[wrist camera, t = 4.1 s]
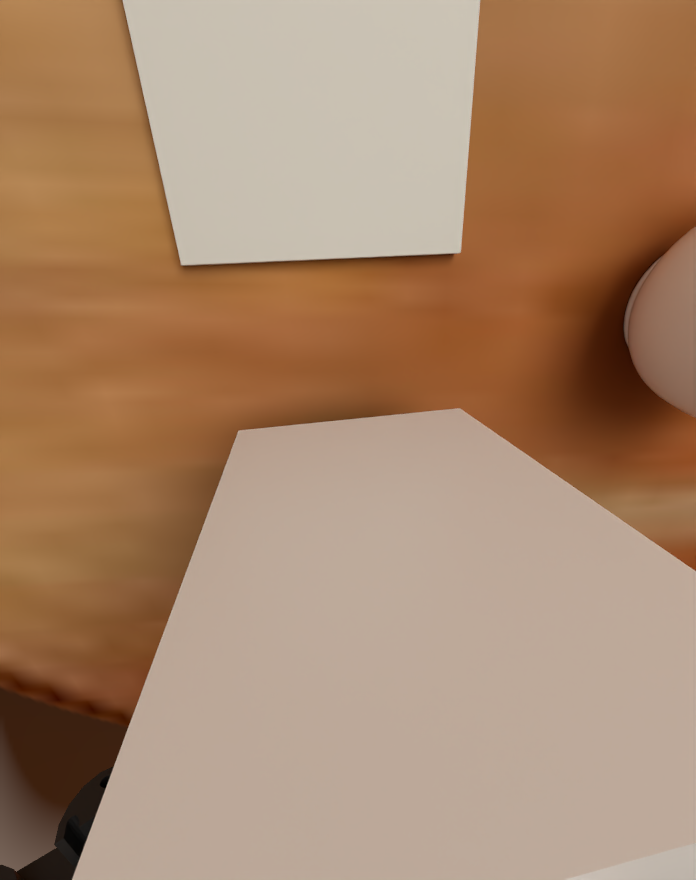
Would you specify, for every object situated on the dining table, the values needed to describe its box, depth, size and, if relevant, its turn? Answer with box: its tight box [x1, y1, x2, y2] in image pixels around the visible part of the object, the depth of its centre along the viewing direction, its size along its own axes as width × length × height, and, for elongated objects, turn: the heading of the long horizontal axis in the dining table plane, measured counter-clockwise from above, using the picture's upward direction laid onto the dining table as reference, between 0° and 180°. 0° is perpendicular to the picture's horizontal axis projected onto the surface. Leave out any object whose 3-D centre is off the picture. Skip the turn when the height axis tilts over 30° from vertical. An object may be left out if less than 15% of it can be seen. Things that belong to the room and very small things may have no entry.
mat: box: [123, 0, 480, 266], centre depth 12 cm, size 14×12×1 cm
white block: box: [72, 408, 696, 880], centre depth 10 cm, size 9×9×12 cm
